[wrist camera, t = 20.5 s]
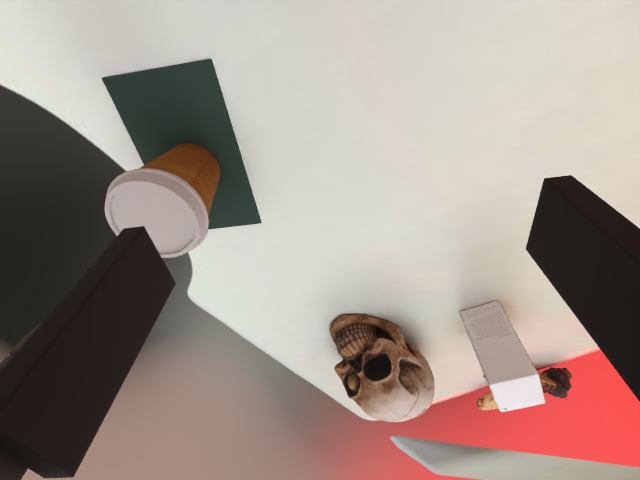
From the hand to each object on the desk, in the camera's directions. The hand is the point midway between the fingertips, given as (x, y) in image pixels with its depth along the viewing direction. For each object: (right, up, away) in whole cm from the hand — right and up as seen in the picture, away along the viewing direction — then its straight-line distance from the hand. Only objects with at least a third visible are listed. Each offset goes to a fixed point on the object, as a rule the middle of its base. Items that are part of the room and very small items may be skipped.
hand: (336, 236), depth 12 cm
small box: (+27, -13, +45) cm, 54 cm away
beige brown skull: (+10, -18, +49) cm, 54 cm away
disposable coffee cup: (-16, +9, +30) cm, 35 cm away
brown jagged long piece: (+37, -27, +55) cm, 71 cm away
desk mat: (-16, +10, +29) cm, 35 cm away
